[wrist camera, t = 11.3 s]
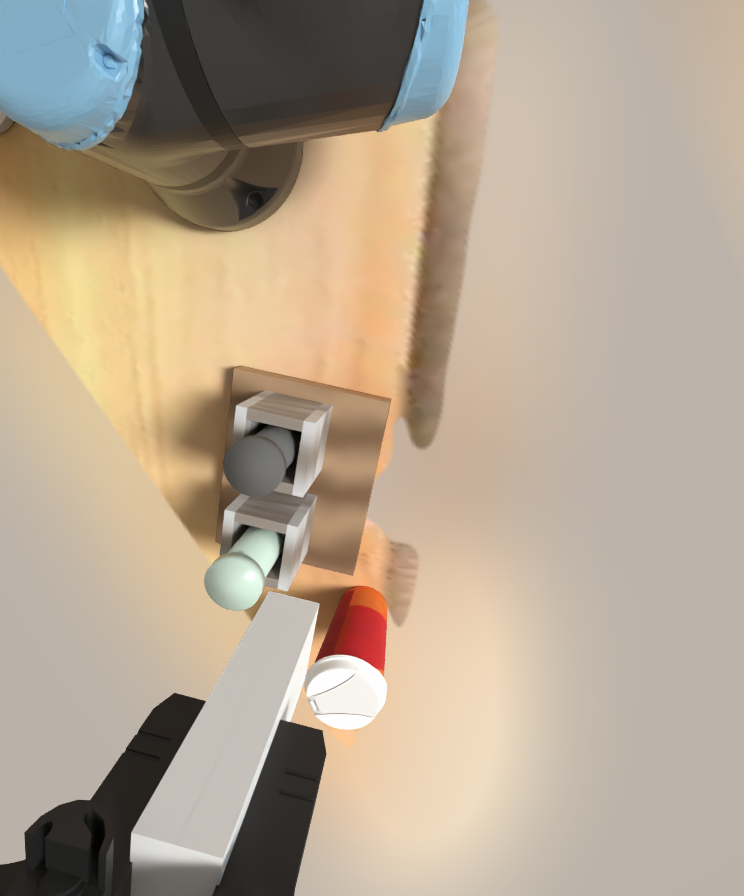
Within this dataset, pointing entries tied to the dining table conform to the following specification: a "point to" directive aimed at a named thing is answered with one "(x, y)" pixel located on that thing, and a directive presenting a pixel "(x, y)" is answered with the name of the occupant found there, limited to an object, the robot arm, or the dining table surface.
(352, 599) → the paper cup
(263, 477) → the gray plug
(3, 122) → the travel mug
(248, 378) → the socket board
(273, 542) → the sage plug
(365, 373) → the dining table surface
